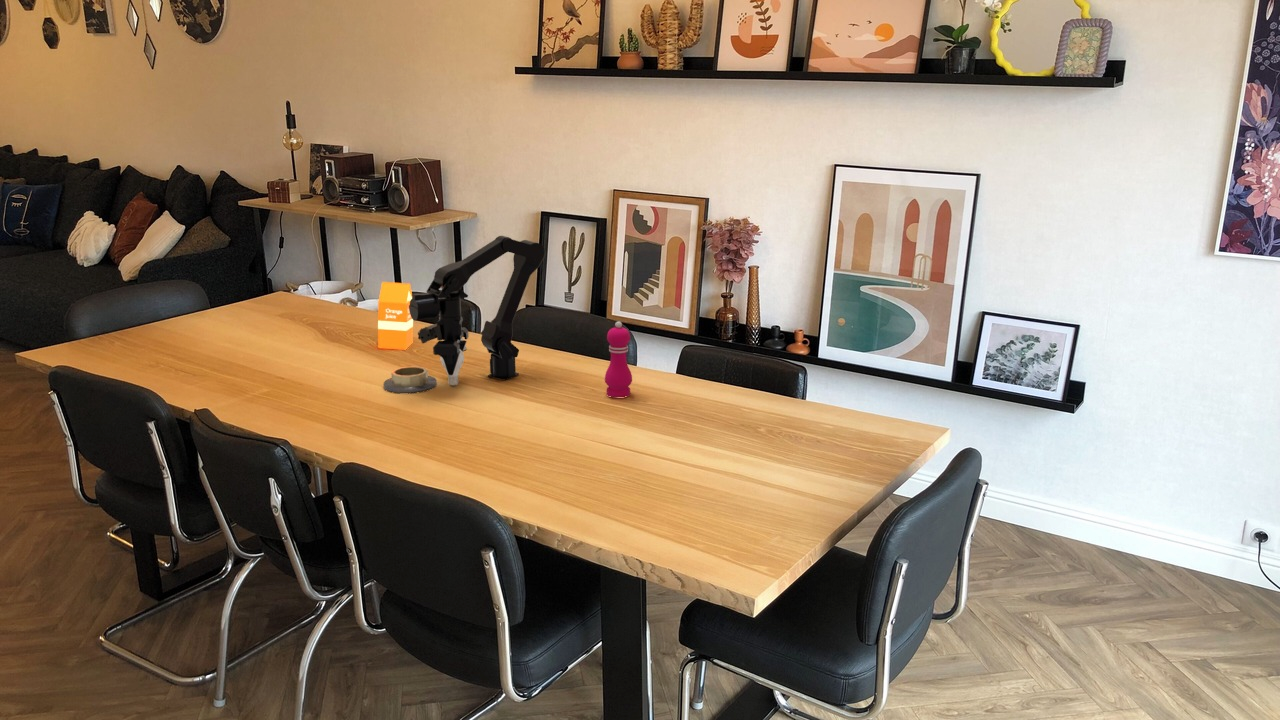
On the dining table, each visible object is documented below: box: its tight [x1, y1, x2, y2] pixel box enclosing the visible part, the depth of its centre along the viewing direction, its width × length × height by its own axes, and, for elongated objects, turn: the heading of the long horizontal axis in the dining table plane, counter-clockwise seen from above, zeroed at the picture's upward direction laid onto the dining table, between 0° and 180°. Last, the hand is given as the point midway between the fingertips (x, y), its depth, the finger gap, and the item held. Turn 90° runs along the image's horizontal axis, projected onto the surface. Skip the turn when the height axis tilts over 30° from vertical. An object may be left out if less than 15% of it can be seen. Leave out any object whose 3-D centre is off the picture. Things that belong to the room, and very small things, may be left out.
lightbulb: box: [439, 349, 465, 387], centre depth 252 cm, size 6×6×11 cm
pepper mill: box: [604, 321, 633, 398], centre depth 245 cm, size 7×7×20 cm
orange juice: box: [377, 281, 414, 351], centre depth 289 cm, size 8×9×20 cm
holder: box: [383, 365, 438, 395], centre depth 253 cm, size 14×14×4 cm
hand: (452, 371), depth 253 cm, fingers closed on lightbulb, 6 cm apart
